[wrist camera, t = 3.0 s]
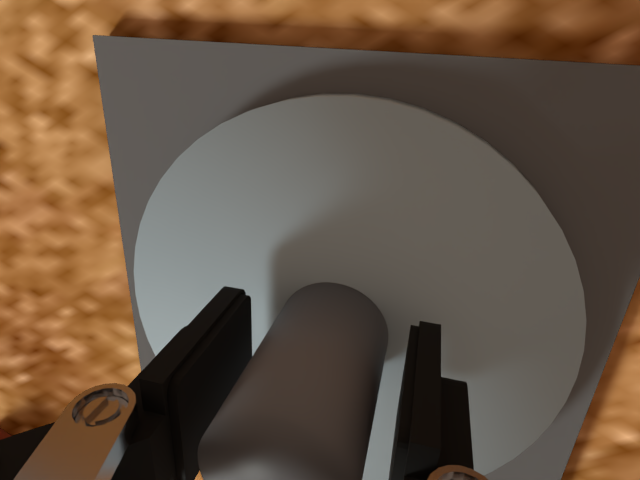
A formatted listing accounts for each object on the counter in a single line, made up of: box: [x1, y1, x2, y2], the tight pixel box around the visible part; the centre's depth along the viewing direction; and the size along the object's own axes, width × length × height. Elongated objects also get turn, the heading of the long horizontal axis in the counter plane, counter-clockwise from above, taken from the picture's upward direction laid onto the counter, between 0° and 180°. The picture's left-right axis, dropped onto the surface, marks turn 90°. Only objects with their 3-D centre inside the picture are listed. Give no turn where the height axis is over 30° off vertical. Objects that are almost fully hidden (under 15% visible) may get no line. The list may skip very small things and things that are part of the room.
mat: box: [93, 35, 640, 480], centre depth 14 cm, size 15×15×1 cm
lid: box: [134, 93, 587, 480], centre depth 11 cm, size 13×13×6 cm
